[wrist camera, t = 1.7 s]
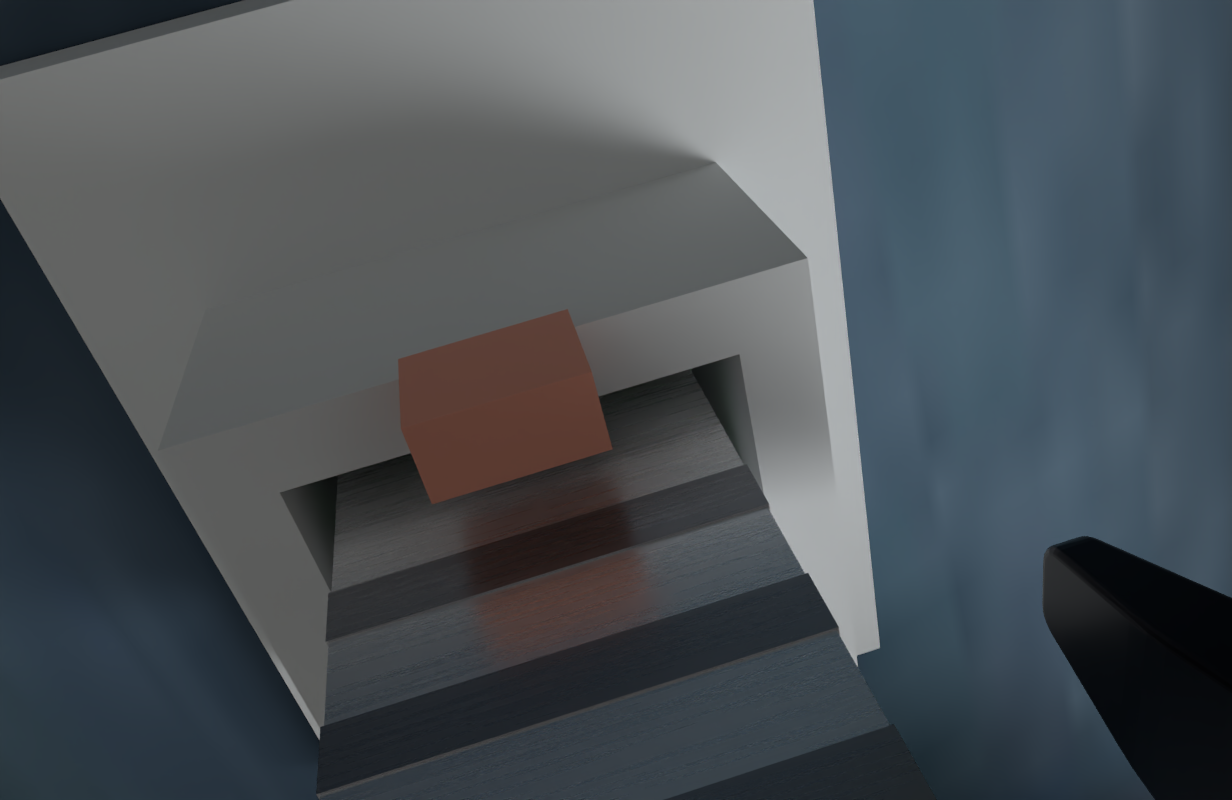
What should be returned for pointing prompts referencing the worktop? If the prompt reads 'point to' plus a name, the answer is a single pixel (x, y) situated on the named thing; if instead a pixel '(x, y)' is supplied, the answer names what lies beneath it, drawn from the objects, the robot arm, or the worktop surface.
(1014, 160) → the worktop surface
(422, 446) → the stand base
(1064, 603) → the robot arm
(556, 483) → the column
